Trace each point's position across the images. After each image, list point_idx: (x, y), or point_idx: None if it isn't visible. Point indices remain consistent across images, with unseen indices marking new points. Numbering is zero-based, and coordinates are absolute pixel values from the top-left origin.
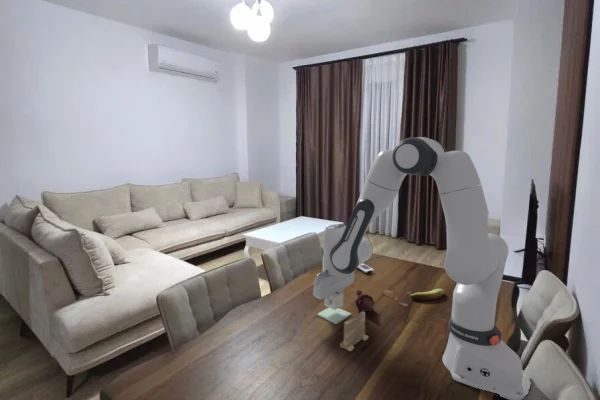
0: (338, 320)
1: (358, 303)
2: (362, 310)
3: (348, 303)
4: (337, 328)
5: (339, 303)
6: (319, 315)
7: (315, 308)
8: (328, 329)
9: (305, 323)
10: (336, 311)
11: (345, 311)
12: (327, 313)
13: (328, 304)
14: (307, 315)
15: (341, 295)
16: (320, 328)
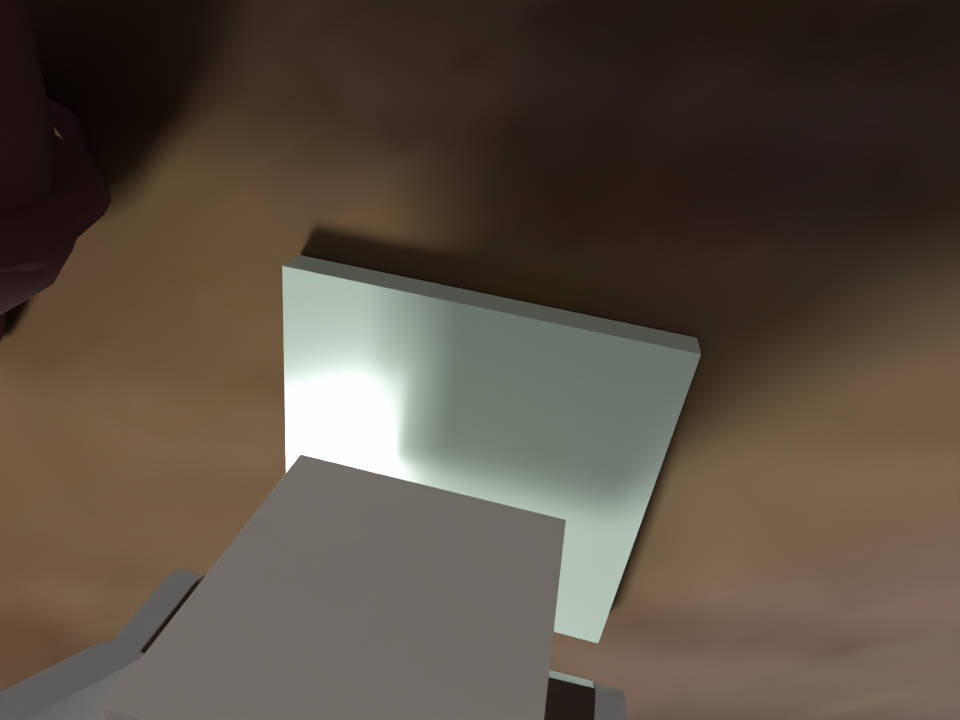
0: (620, 342)
1: (5, 235)
2: (65, 138)
3: (76, 416)
4: (817, 259)
5: (386, 545)
6: (605, 606)
7: None
8: (917, 373)
9: (871, 673)
10: (388, 469)
11: (296, 362)
12: None
13: (624, 717)
14: (660, 702)
15: (223, 687)
16: (933, 483)
